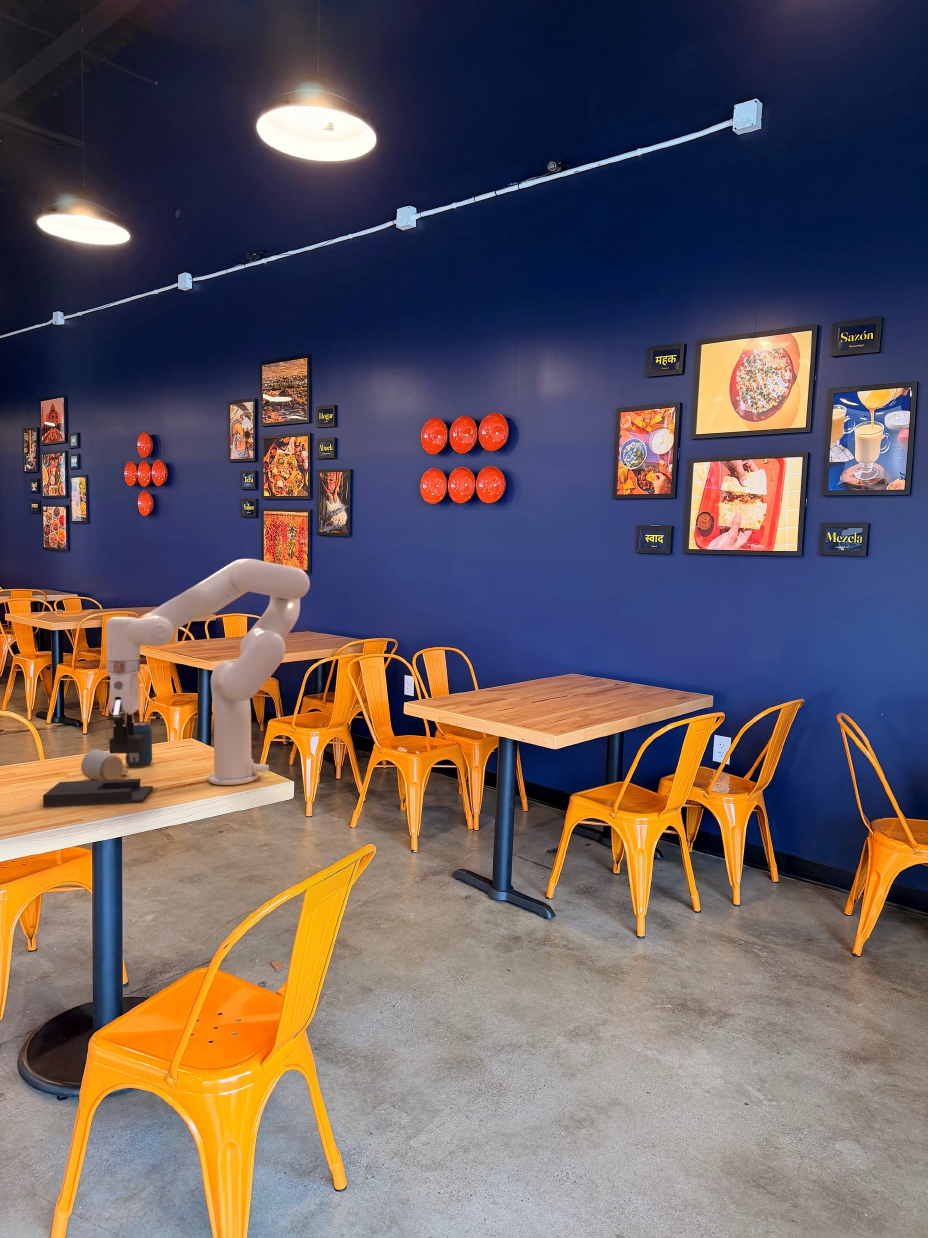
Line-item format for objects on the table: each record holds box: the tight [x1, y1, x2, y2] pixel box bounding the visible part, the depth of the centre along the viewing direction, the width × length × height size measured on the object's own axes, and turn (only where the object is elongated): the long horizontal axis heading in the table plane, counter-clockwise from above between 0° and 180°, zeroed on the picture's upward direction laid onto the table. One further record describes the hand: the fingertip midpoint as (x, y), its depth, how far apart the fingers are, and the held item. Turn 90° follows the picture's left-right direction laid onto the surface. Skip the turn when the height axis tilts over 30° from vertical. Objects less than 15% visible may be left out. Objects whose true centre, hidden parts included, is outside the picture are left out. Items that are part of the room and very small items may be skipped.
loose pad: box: [108, 735, 145, 754], centre depth 197 cm, size 7×5×4 cm
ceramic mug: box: [80, 749, 129, 780], centre depth 211 cm, size 11×8×8 cm
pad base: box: [42, 778, 154, 808], centre depth 194 cm, size 22×12×3 cm, turn 100°
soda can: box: [125, 721, 153, 769], centre depth 225 cm, size 7×7×12 cm
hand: (123, 739), depth 196 cm, fingers closed on loose pad, 5 cm apart
